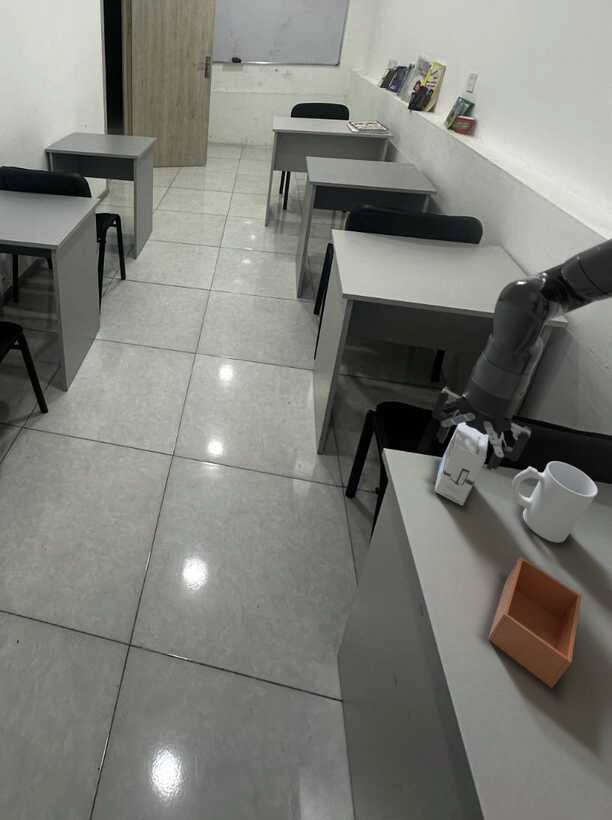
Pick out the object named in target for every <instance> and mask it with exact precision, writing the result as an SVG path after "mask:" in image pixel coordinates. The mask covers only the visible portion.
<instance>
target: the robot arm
mask: <svg viewBox="0 0 612 820" xmlns="http://www.w3.org/2000/svg"><path fill="white" fill-rule="evenodd" d="M609 299H612V238H611V237H610V238H609V239H607V240H604V241H602V242H600V243H598V244H595V245H594V246H591V247H589V248H587V249H585V250H582V251H579V252H578V253H576V254H574V255H573V256H572V255H571V257H569V258H567V259H566V260H565V261H564V262H562V263H561V264H557V265H555V266H552V267H549V268H548V269H545V270H543V271H540V272H538V273H535V274H532V275H528V276H526V277H522V278H518V279H515V280H513V281H510V282H508V284H506V285H505V286H504V287H503V288H502V290H501V291H500V293H499V295H498V296H497V298H496V301H495V305H494V310H493V317H492V325H491V327H492V329H491V332H490V334H489V336H488V339H487V341H486V344H485V346H484V348H483V350H482V352H481V354H480V355H479V357H477V358H478V359H477V360H476V362H475V364H474V367H472V370H471V374H470V376H469V378H468V380H467V383H466V386H465V388H464V389H463V392H462V393H461V394H459V395H458V394H457V393H455V392H452V390H451V388H450V387H449V386H444V387H443V388H442V390H441V391H440V393H439V395H438V397H437V399H436V402H435V405H434V408H433V409H432V413H431V417H432V418H433V419H435V420H438V421H439V423H440V425H439V428H438V430H437V433H436V438H438V442H439V443H441V444H444V442H445V440H446V438H447V436H448V434H449V431H450V429H451V427H452V426H458V424H460V423H463V422H465V423H466V425H467V426H469V427H471V428H474V429H476V430H478V431H479V432H480V433H482V434H484V435H486V434H487V435H488V436H489V438H488V440H489V442H490V444H491V445H492V447H493V450H494V451H493V453H492V455H491V457H490V458H489V461H488V463H487V465H486V470H489V471H492V469H493V470H497V469H498V468H499V466H500V465H501V462H502V460H503V459H505V458H506V459H509V460H510V461H512V462H517V461H518V460H519V458H520V456H521V455H522V452H523V451H524V449H525V447H526V445H527V444H528V442H529V440H530V437H531V434H532V429H531V427H529V426H520V425H518V424H516V423H514V421H513V416H514V415H515V413H516V410H517V408H518V407H519V404H520V402H521V400H522V398H523V397H524V395H525V394H526V390H527V388H528V386H529V383H530V380H531V377H532V374H533V371H534V369H535V367H536V365H537V363H538V361H539V359H540V357H541V355H542V352H543V349H544V343H543V340H542V338H541V337H540V336H541V333H542V332H543V331H542V330H543V329H544V327H545V325H546V324H547V323H548V322H549V321H551V320H554V319H556V318H559V317H562V316H564V315H566V314H569V313H571V312H574V311H576V310H578V309H582V308H583V307H585V306H588V305H590V304H592V303H595V302H600V301H605V300H609ZM452 402H455V404H456V407H457V409H455V410H454V411H452V412H449V413H446V412H444V410H445V408H446V405H447V404H448V405H449V404H450V405H451V403H452ZM508 431H511V432H512V437H513V438H514V440H515V442H514V444H513V446H512V447H510V446H507V443H506V440H505V435H504V432H508Z"/></svg>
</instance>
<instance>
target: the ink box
mask: <svg viewBox="0 0 612 820" xmlns="http://www.w3.org/2000/svg"><path fill="white" fill-rule="evenodd" d="M488 445H489V436H488V435H487V434H486V435H484V434H482V433H480V432H479V431H478V430H476V429H474V428H471V427H469V426H467V425H466V423H465V422H463V423H460V424H457V425H456V428H455V430H454V432H453V435H452V437H451V439H450V441H449V443H448V445H447V447H446V450H445V452H444V453H443V456H442V458H441V459H440V461H439V465H438V471H437V474H438V475H437V474H436V475H437V481H436V485H435V486H434V492H435V493H437V494H438V495H440V496H443V497H444V498H446V499H448V500H450V501H452V502H454V503H456V504H458V505H460V506H464V504H465V502H466V500H467V498H468V496H469V494H470V492H471V490H472V488H473V486H474V485H475V482H476V481H477V479H478V476H479V474H480V472H481V470H482V469H483V467H484V464H485V462H486V459H487V454H488V453H487V452H488Z"/></svg>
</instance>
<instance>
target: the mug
mask: <svg viewBox="0 0 612 820" xmlns="http://www.w3.org/2000/svg"><path fill="white" fill-rule="evenodd" d="M526 479H535V480H537V481H538V482H537V484H536V486H535V487H534V490H533V492H532V493H531V496H530V497H527V496H524V495H522V493H521V492H520V486H521V484H522V482H524V480H526ZM511 490H512V497H513V501H514V503H515V504H518V505H520V506H522V507H524V510H523V512H522V517H523V520H524V522H525V524H526V525H527V526H528V527H529V528H530V529H531V530H532V531H533V532H534V533H535V534H537V535H538V536H540V537H541V538H542V539H544V540H547V541H549V542H552V543H563V542H564V541H565V540H566V539H567V538H568V537H569V535H570V534H571V532H572V531H573V530H574V528H575V527H576V525H577V523H578V522H579V520H580V519H581V517H582V516H583V515H584V514H585V512H586V511H587V509H588V508H589V506H591V503H592V502H593V500H594V499H595V497H596V496H597V494H598V492H599V491H598V487H597V484H595V482H594V481H593V480H592V478H590V476H588V475H587V474H586V473H585V472H584V471H582V470H580V469H579V468H576V467H575V466H573V465H571V464H568V463H565V462H562V461H554V460H553V461H549V462H548V463H547V464H546V466H545V469H544V471H543V472H539V471H538V469H537V468H534V467H532V466H528V467H527V468H526V469H524V470H522V471H520V472H519V473H517V474H516V475H515V476H514V478H513V480H512V482H511Z"/></svg>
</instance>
